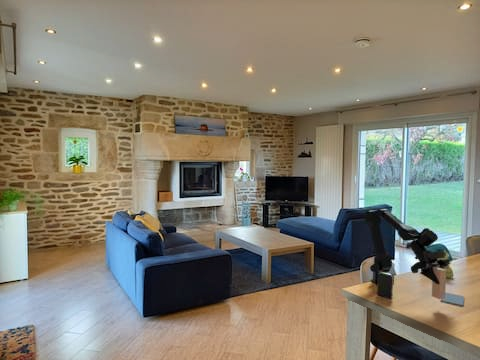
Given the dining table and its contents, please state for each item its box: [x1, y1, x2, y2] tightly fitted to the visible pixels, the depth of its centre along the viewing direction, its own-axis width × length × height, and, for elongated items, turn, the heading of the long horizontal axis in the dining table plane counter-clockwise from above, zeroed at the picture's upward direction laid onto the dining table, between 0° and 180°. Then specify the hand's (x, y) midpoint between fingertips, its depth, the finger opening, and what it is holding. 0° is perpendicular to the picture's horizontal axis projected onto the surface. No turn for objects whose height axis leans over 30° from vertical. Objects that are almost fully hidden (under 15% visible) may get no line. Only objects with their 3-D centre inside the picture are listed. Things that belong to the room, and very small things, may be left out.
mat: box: [440, 291, 465, 307], centre depth 157 cm, size 13×9×1 cm
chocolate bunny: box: [435, 250, 454, 279], centre depth 190 cm, size 7×11×15 cm, turn 51°
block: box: [431, 268, 447, 300], centre depth 145 cm, size 4×4×12 cm
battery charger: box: [376, 272, 395, 299], centre depth 159 cm, size 7×4×11 cm, turn 47°
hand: (441, 283), depth 144 cm, fingers closed on block, 4 cm apart
